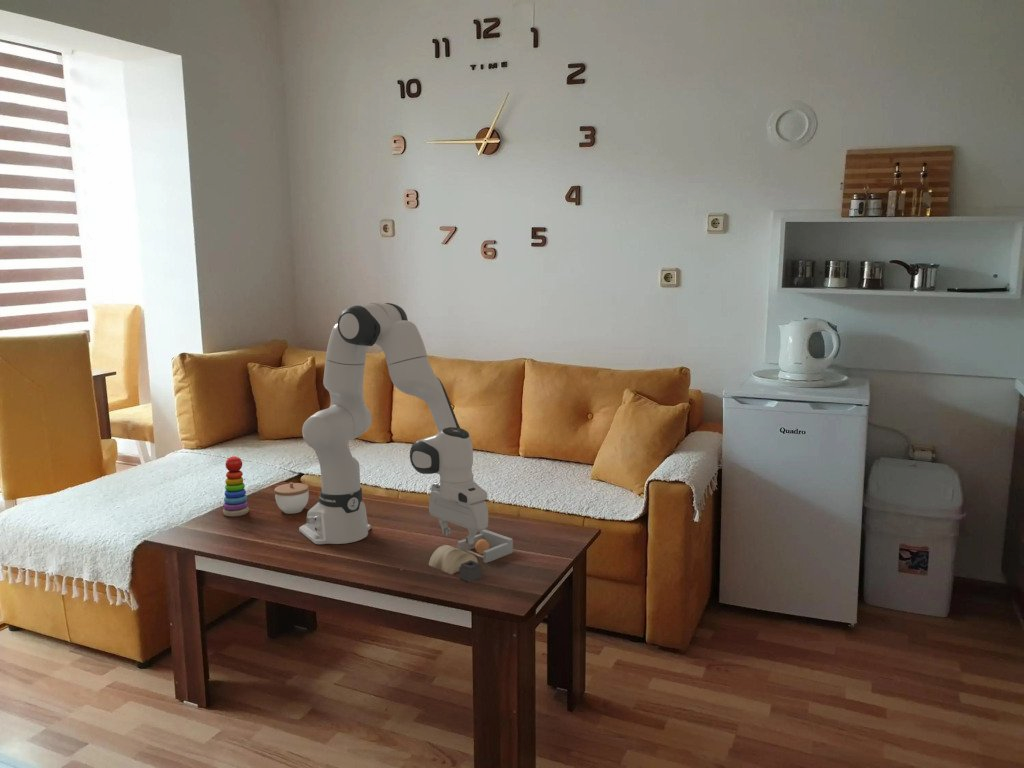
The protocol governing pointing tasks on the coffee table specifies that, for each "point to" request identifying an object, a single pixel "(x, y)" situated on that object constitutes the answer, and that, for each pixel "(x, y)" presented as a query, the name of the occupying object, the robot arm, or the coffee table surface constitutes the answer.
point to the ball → (482, 546)
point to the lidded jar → (292, 497)
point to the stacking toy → (234, 489)
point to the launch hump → (450, 559)
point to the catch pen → (496, 541)
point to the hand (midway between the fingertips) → (458, 538)
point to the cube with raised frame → (470, 571)
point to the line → (474, 553)
